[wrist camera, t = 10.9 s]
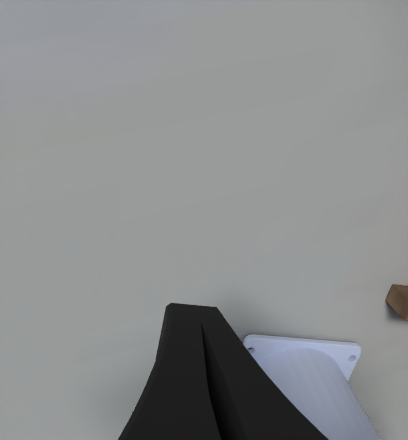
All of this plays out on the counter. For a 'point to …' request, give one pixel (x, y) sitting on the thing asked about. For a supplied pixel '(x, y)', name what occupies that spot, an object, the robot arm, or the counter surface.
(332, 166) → the counter surface
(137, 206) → the counter surface
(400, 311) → the walnut frame
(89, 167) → the counter surface
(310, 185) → the counter surface
